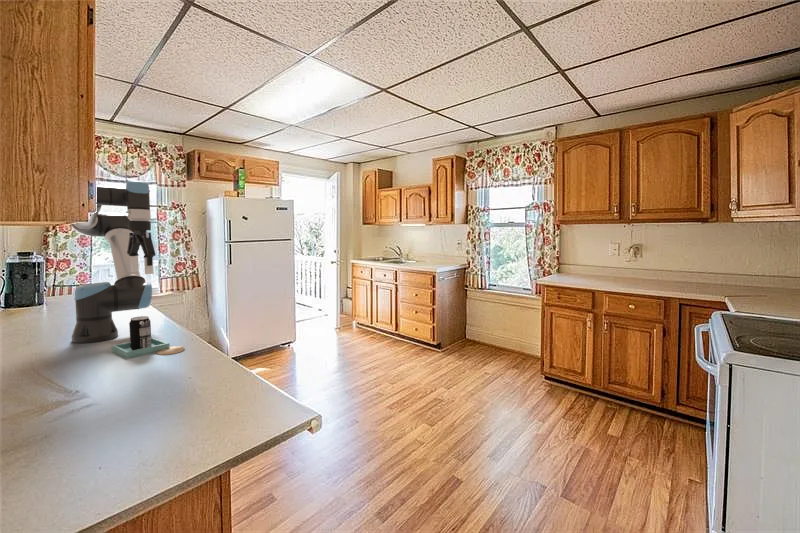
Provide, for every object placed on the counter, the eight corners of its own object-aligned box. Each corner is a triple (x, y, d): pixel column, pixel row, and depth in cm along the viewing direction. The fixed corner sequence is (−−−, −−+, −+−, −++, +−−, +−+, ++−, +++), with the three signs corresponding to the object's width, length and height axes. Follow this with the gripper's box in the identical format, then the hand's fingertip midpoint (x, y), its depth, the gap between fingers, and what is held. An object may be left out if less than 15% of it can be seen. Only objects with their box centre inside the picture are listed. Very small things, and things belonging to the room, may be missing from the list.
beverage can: (132, 347, 142) (131, 316, 141) (153, 345, 145) (151, 315, 144) (128, 352, 136) (127, 320, 135) (149, 350, 139) (148, 318, 138)
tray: (111, 351, 138) (111, 345, 138) (153, 343, 150) (153, 337, 150) (127, 358, 131) (127, 352, 130) (169, 349, 142) (169, 343, 142)
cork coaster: (152, 351, 139) (152, 350, 138) (177, 346, 146) (177, 345, 146) (163, 356, 134) (163, 355, 133) (188, 350, 141) (188, 349, 141)
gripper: (116, 220, 152) (118, 271, 153) (142, 219, 138) (144, 275, 139) (136, 221, 158) (139, 270, 160) (163, 220, 144) (166, 274, 146)
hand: (141, 272), depth 150 cm, fingers open, 13 cm apart
